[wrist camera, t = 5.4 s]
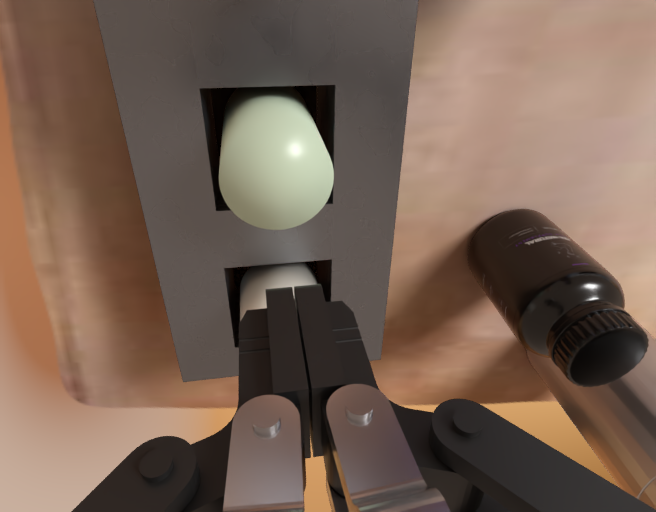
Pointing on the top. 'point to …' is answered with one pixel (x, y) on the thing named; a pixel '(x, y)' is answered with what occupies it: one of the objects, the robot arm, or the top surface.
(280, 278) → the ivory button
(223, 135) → the pale green rounded peg
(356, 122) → the three peg holder
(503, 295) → the supplement bottle
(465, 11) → the top surface
